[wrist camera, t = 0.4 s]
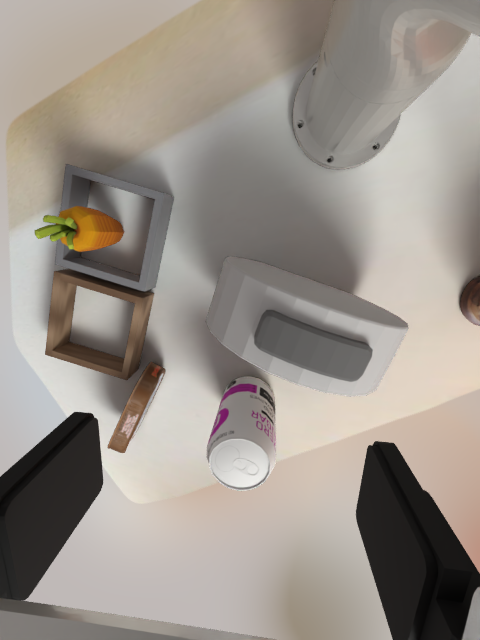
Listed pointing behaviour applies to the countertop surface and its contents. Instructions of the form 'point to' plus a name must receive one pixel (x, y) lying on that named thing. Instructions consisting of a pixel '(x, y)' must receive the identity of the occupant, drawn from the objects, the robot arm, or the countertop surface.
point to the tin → (136, 407)
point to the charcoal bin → (78, 196)
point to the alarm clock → (303, 328)
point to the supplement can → (244, 435)
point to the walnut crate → (62, 323)
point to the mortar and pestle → (471, 301)
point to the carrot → (82, 229)
